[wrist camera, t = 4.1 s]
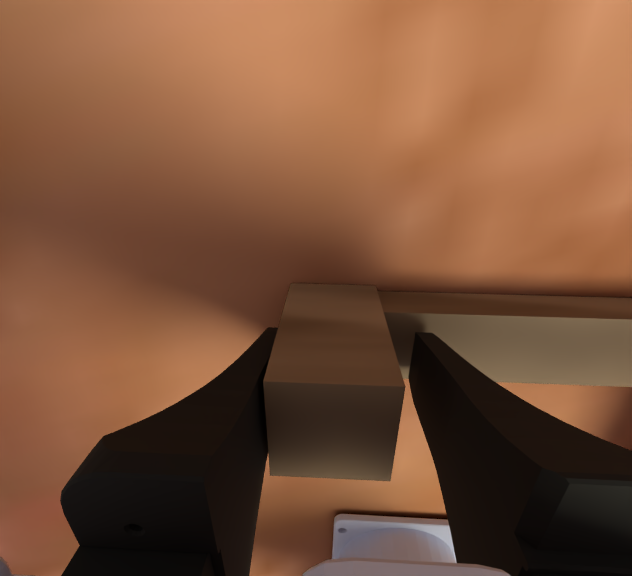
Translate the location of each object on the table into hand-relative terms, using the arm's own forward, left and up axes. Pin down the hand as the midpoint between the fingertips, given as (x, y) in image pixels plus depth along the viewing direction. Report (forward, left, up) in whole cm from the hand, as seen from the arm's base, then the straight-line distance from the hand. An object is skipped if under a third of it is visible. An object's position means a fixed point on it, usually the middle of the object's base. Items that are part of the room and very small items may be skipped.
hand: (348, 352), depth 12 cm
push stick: (0, -6, -2) cm, 7 cm away
